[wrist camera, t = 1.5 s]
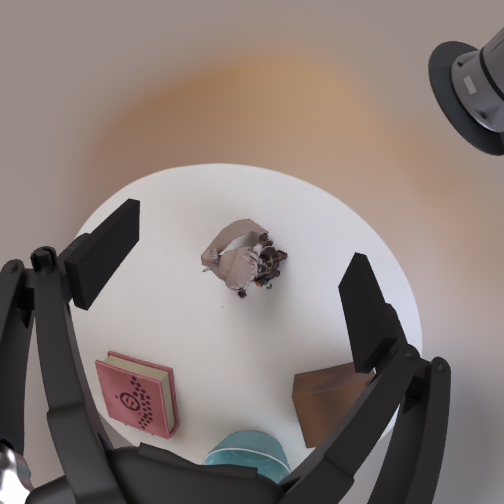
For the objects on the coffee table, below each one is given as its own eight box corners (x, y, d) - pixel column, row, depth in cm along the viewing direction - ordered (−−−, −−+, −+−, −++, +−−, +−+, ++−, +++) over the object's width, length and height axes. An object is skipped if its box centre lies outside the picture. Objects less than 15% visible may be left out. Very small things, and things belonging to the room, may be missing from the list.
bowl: (298, 466, 43) (295, 496, 35) (225, 465, 47) (215, 492, 39) (291, 416, 42) (287, 448, 34) (207, 416, 45) (191, 444, 37)
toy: (279, 299, 39) (219, 324, 25) (231, 273, 42) (159, 283, 29) (304, 239, 37) (253, 233, 24) (252, 217, 41) (183, 202, 27)
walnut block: (369, 357, 38) (376, 377, 32) (374, 412, 39) (379, 433, 33) (294, 374, 41) (291, 396, 35) (307, 425, 42) (306, 448, 36)
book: (122, 407, 50) (110, 419, 45) (109, 350, 47) (94, 361, 43) (179, 427, 47) (169, 442, 42) (172, 368, 45) (159, 382, 40)
